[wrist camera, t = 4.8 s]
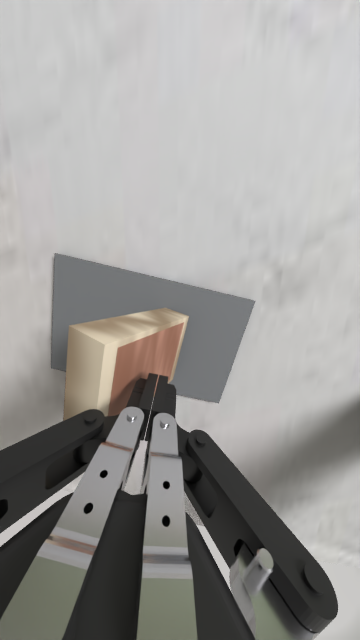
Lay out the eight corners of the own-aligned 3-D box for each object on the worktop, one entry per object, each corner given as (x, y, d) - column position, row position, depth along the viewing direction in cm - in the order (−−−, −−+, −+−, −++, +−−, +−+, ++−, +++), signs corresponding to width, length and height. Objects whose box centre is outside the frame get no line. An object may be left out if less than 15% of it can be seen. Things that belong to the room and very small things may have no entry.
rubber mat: (253, 300, 20) (255, 301, 20) (218, 400, 24) (218, 403, 24) (57, 253, 19) (54, 253, 19) (53, 366, 23) (51, 368, 23)
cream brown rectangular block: (189, 316, 19) (105, 345, 10) (173, 379, 21) (91, 455, 12) (165, 307, 20) (68, 325, 11) (152, 368, 23) (62, 428, 13)
